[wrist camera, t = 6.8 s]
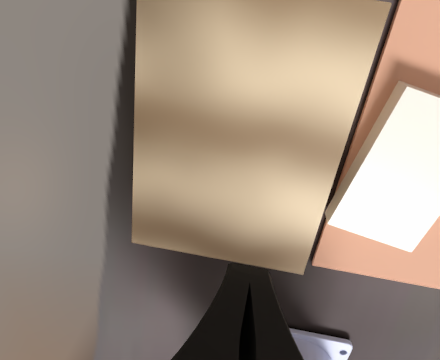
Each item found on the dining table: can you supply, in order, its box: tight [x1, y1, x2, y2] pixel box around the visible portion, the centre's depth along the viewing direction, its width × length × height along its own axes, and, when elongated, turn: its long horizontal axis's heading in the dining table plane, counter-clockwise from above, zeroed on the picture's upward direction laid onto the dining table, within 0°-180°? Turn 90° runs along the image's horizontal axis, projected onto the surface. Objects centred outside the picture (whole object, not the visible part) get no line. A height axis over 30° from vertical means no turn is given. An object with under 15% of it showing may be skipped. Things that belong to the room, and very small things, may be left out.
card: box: [325, 81, 440, 252], centre depth 19 cm, size 8×5×1 cm, turn 162°
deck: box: [132, 0, 392, 275], centre depth 18 cm, size 14×10×2 cm
